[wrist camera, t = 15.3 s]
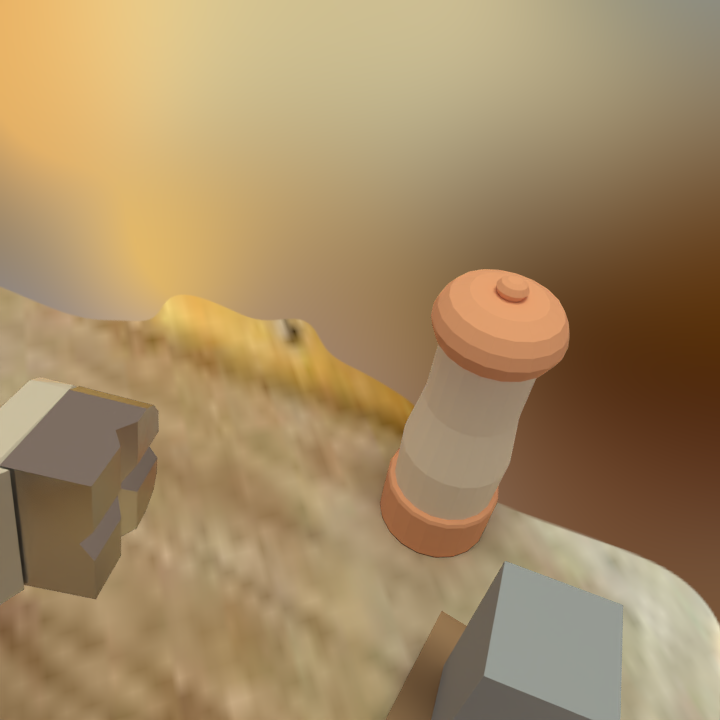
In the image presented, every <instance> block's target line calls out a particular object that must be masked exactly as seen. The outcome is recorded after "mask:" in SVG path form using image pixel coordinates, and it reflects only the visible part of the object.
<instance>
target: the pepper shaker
mask: <svg viewBox="0 0 720 720" xmlns="http://www.w3.org/2000/svg"><path fill="white" fill-rule="evenodd" d="M431 318H432V326H433V329H434V332H435V336H436V339H437V342H438V347H437V351H436V354H435V357H434V361H433V364H432V368H431V371H430V374H429V378H428V381H427V384H426V386H425V388H424V390H423V392H422V394H421V396H420V397H419V399H418V401H417V403H416V405H415V407H414V409H413V411H412V413H411V415H410V416H409V418H408V420H407V422H406V424H405V428H404V432H403V437H402V441H401V446H400V448H399V449H398V451H397V452H396V453H395V455H394V456H393V458H392V459H391V461H390V465H389V469H388V473H387V477H386V480H385V484H384V488H383V492H382V497H381V501H380V505H381V511H382V517H383V519H384V521H385V523H386V525H387V527H388V529H389V530H390V532H391V533H392V534H393V535H394V536H395V537H396V538H397V539H398V540H399V541H400V542H401V543H402V544H404V545H405V546H407V547H409V548H411V549H413V550H414V551H416V552H418V553H422V554H426V555H429V556H433V557H451V556H455V555H458V554H461V553H463V552H466V551H468V550H469V549H470V548H471V547H473V546H474V545H475V544H476V543H477V542H478V541H479V539H480V537H481V535H482V533H483V531H484V529H485V527H486V525H487V523H488V521H489V519H490V516H491V514H492V512H493V510H494V508H495V506H496V504H497V502H498V489H499V486H498V485H499V483H500V481H501V479H502V477H503V475H504V473H505V471H506V469H507V467H508V465H509V463H510V459H511V455H512V450H513V445H514V440H515V435H516V430H517V425H518V421H519V416H520V414H521V412H522V409H523V407H524V405H525V402H526V400H527V398H528V396H529V393H530V391H531V389H532V386H533V384H534V381H535V379H536V378H537V377H539V376H541V375H543V374H544V373H545V372H547V371H548V370H550V369H551V368H553V367H554V366H555V365H556V364H557V363H559V361H561V360H562V358H563V356H564V354H565V352H566V350H567V348H568V343H569V323H568V320H567V317H566V314H565V311H564V309H563V307H562V305H561V303H560V302H559V300H558V299H557V298H556V297H555V296H554V295H553V294H552V293H551V292H550V291H549V290H548V289H546V288H545V287H543V286H541V285H540V284H538V283H537V282H535V281H533V280H531V279H529V278H526V277H524V276H521V275H519V274H516V273H511V272H507V271H502V270H489V269H482V270H476V271H470V272H468V273H466V274H464V275H461V276H459V277H457V278H456V279H455V280H453V281H451V282H450V283H449V284H447V286H446V287H445V288H444V289H443V290H442V291H441V293H440V294H439V295H438V297H437V299H436V300H435V302H434V304H433V309H432V314H431Z"/></svg>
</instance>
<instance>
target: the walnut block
mask: <svg viewBox="0 0 720 720" xmlns="http://www.w3.org/2000/svg"><path fill="white" fill-rule="evenodd" d="M466 627H467V626H466V625H464V624H463V623H461V622H459V621H458V620H456V619H454V618H453V617H451V616H449V615H448V614H446V613H444V612H443V611H442V612H441V614H440V615H439V617H438V619H437V621H436V623H435V625H434V627H433V629H432V631H431V633H430V635H429V637H428V639H427V641H426V643H425V644H424V646H423V648H422V650H421V652H420V654H419V656H418V658H417V660H416V662H415V664H414V666H413V668H412V670H411V672H410V674H409V675H408V677H407V679H406V681H405V683H404V685H403V687H402V689H401V691H400V693H399V695H398V697H397V699H396V701H395V703H394V705H393V706H392V708H391V710H390V712H389V714H388V716H387V718H386V720H431V718H432V714H433V710H434V706H435V701H436V697H437V693H438V688H439V684H440V680H441V676H442V671H443V667H444V664H445V663H446V661H447V659H448V658H449V656H450V654H451V652H452V651H453V649H454V647H455V646H456V644H457V642H458V640H459V639H460V637H461V635H462V634H463V632H464V630H465V628H466Z"/></svg>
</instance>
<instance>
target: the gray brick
mask: <svg viewBox="0 0 720 720" xmlns="http://www.w3.org/2000/svg"><path fill="white" fill-rule="evenodd" d="M622 629H623V605H621V604H619V603H616V602H613V601H611V600H608V599H605V598H603V597H600V596H597V595H595V594H592V593H589V592H587V591H584V590H581V589H579V588H576V587H573V586H571V585H568V584H565V583H563V582H560V581H557V580H555V579H552V578H549V577H547V576H544V575H541V574H539V573H536V572H533V571H531V570H528V569H525V568H523V567H520V566H517V565H515V564H512V563H509V562H507V561H505V562H504V563H503V565H502V567H501V569H500V570H499V572H498V574H497V575H496V577H495V579H494V581H493V582H492V584H491V586H490V587H489V589H488V591H487V593H486V594H485V596H484V598H483V599H482V601H481V603H480V605H479V606H478V608H477V610H476V611H475V613H474V615H473V616H472V618H471V620H470V622H469V623H468V625H467V627H466V628H465V630H464V632H463V634H462V635H461V637H460V639H459V640H458V642H457V644H456V646H455V647H454V649H453V651H452V652H451V654H450V656H449V658H448V659H447V661H446V663H445V664H444V667H443V671H442V676H441V680H440V684H439V688H438V693H437V697H436V701H435V706H434V710H433V714H432V718H431V720H620V713H621V671H622Z"/></svg>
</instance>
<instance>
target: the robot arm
mask: <svg viewBox="0 0 720 720" xmlns="http://www.w3.org/2000/svg"><path fill="white" fill-rule="evenodd" d="M157 433H158V410H157V409H156V407H155V406H154V405H151V404H147V403H143V402H140V401H136V400H132V399H128V398H124V397H120V396H116V395H112V394H108V393H104V392H100V391H96V390H92V389H88V388H85V387H81V386H78V387H77V386H74V385H70V384H66V383H62V382H58V381H54V380H50V379H46V378H42V377H39V378H35V379H32V380H29V381H28V382H27V383H26V384H24V385H23V386H22V387H21V388H20V389H19V390H18V391H17V392H16V393H15V394H14V395H13V396H12V397H11V398H10V399H9V400H7V401H6V402H5V403H4V404H3V405H2V406H1V407H0V605H1V604H2V603H4V602H5V601H7V600H8V599H10V598H11V597H13V596H15V595H16V594H18V593H19V592H21V591H22V590H24V585H27V586H32V587H37V588H42V589H47V590H52V591H57V592H62V593H67V594H72V595H77V596H82V597H87V598H92V599H96V598H97V596H98V594H99V593H100V591H101V589H102V588H103V586H104V584H105V582H106V581H107V579H108V577H109V575H110V574H111V572H112V570H113V569H114V567H115V565H116V563H117V562H118V560H119V558H120V556H121V536H123V535H125V534H127V533H129V532H131V531H133V530H134V529H136V528H137V527H138V525H139V523H140V521H141V519H142V517H143V515H144V514H145V512H146V509H147V507H148V504H149V501H150V498H151V495H152V493H153V490H154V485H155V479H156V474H157V457H156V455H155V454H154V453H153V451H152V450H151V448H150V447H149V446H150V444H151V442H152V441H153V439H154V438H155V436H156V435H157Z"/></svg>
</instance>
